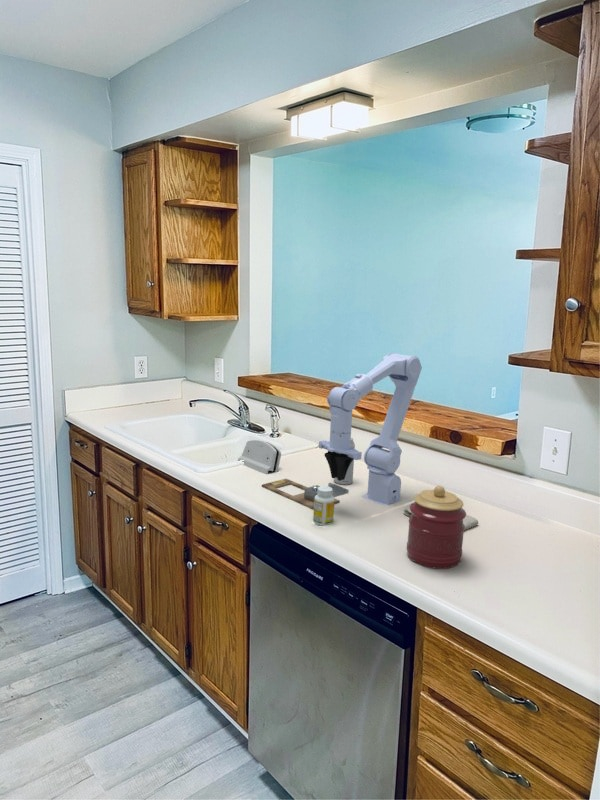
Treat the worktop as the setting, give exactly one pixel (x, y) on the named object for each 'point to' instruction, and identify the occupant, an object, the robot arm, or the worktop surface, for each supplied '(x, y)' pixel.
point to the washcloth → (467, 521)
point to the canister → (436, 528)
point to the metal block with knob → (311, 493)
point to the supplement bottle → (323, 506)
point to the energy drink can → (349, 473)
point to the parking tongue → (337, 490)
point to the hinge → (261, 456)
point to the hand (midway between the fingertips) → (338, 478)
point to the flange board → (297, 498)
